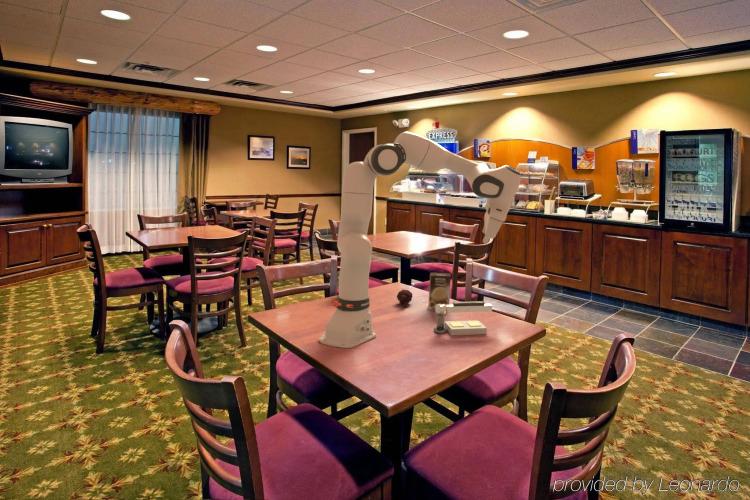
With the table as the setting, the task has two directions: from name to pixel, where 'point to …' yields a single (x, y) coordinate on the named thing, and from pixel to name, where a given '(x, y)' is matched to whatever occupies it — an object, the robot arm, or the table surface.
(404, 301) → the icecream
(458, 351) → the table surface
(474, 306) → the bar
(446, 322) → the block
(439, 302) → the coffee box
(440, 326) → the post
